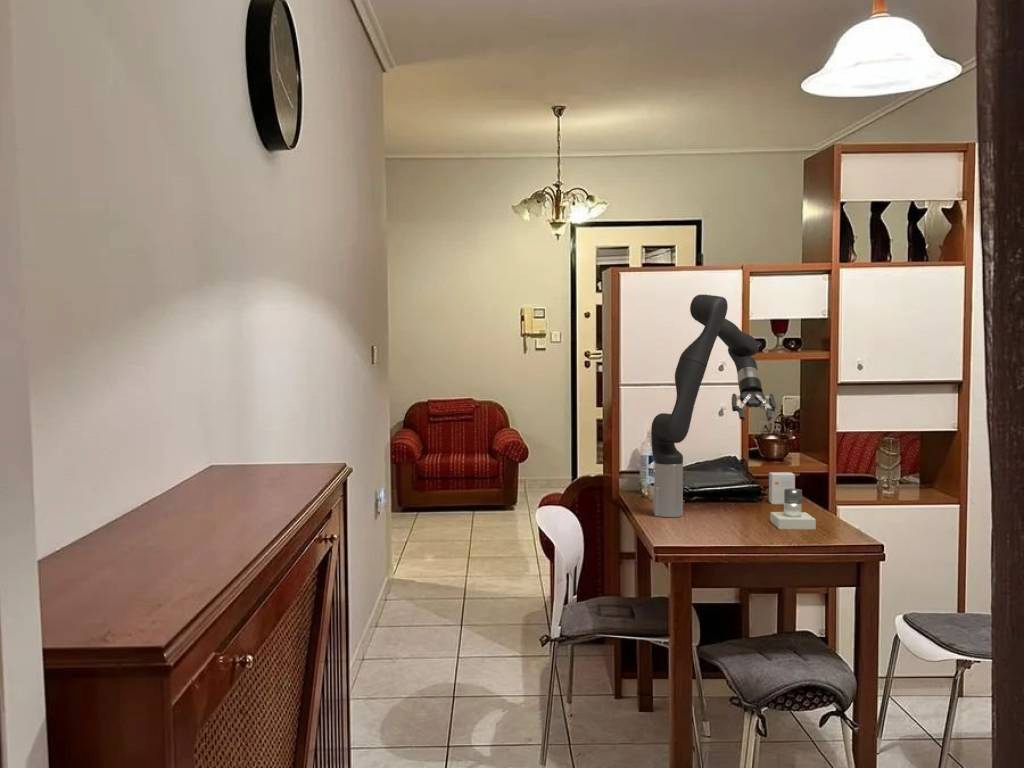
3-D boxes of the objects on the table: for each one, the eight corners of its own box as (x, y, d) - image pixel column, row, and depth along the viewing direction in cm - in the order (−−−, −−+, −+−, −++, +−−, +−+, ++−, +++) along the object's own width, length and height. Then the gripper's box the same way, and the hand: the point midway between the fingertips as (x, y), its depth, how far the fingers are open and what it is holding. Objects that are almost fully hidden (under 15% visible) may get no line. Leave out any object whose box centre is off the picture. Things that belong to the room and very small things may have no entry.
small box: (791, 501, 319) (792, 472, 319) (795, 504, 314) (795, 474, 313) (768, 501, 320) (768, 471, 320) (771, 504, 315) (771, 474, 314)
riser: (778, 529, 276) (779, 519, 276) (770, 521, 287) (770, 512, 286) (815, 529, 275) (815, 519, 275) (805, 521, 286) (805, 512, 286)
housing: (785, 516, 278) (786, 490, 278) (782, 513, 284) (782, 488, 283) (802, 517, 278) (803, 491, 278) (799, 514, 283) (799, 488, 283)
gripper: (730, 375, 311) (736, 412, 300) (772, 375, 310) (780, 412, 299) (727, 390, 316) (733, 426, 306) (768, 390, 316) (775, 426, 305)
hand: (756, 419), depth 302 cm, fingers open, 8 cm apart
